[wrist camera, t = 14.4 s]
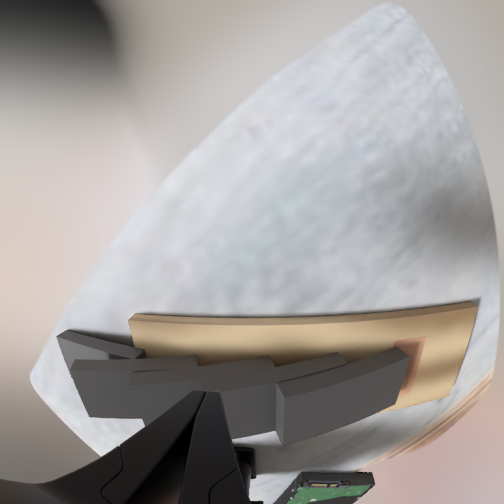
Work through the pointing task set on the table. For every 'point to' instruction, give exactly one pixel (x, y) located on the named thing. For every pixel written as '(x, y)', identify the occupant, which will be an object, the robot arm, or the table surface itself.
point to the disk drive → (327, 488)
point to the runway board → (324, 342)
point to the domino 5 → (338, 396)
